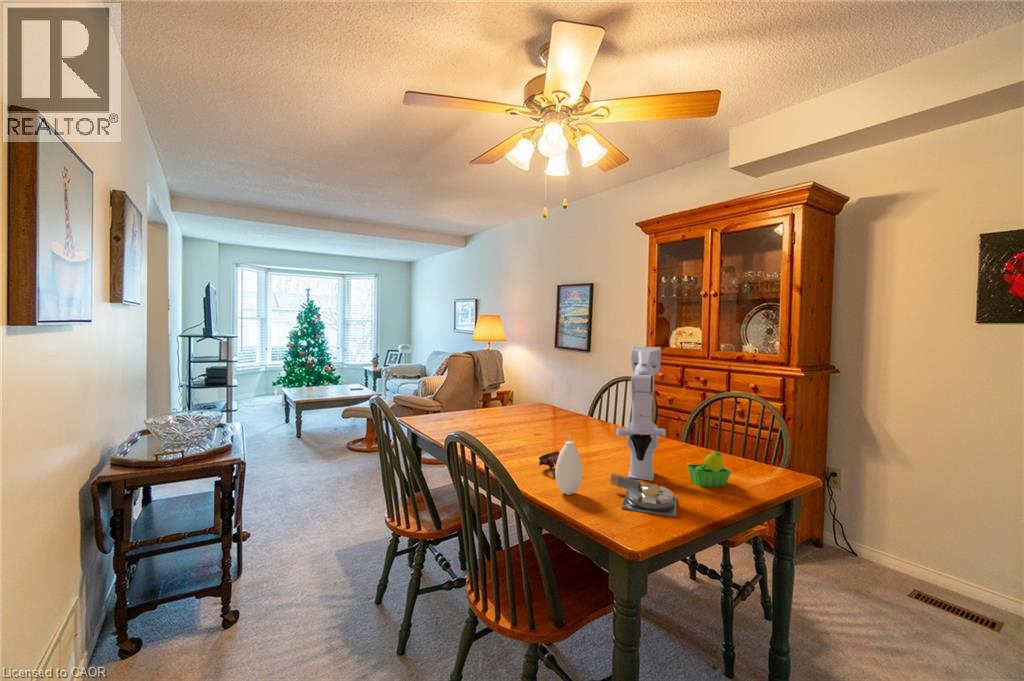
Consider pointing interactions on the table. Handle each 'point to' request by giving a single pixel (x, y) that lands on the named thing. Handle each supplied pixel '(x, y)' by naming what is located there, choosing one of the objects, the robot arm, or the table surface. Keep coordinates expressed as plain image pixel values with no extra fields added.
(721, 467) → the fruit basket
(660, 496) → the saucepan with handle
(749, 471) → the table surface
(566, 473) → the air blower bulb
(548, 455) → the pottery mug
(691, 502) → the table surface
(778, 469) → the table surface
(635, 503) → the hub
